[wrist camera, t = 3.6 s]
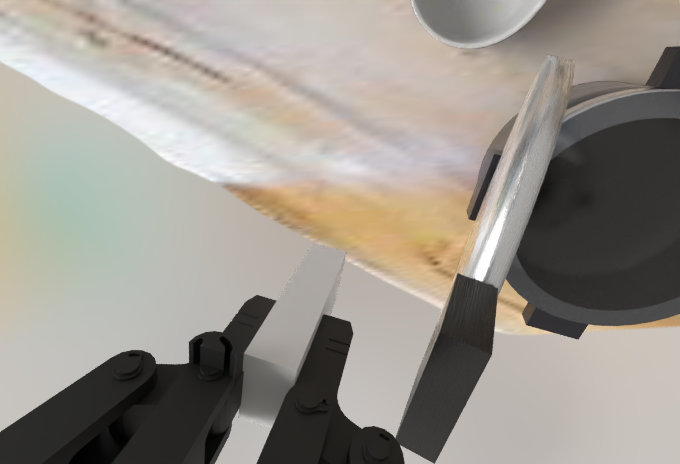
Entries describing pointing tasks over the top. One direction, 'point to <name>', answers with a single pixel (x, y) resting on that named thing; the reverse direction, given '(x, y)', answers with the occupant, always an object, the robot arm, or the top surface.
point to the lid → (485, 267)
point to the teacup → (474, 20)
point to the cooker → (603, 208)
